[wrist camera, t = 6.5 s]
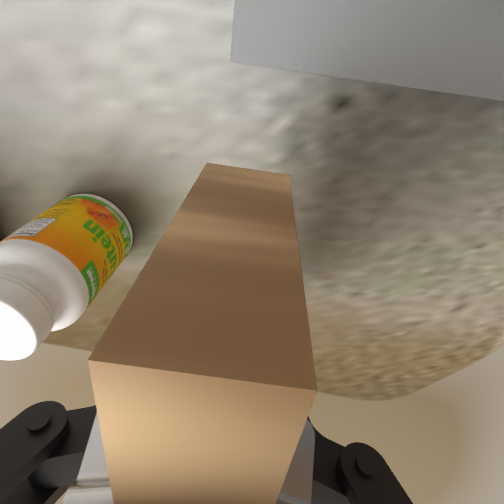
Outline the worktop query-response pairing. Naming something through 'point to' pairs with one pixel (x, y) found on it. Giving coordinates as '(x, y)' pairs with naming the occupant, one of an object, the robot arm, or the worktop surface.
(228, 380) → the long tan wooden block
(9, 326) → the supplement bottle
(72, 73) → the worktop surface
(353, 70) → the grey and brown stand
